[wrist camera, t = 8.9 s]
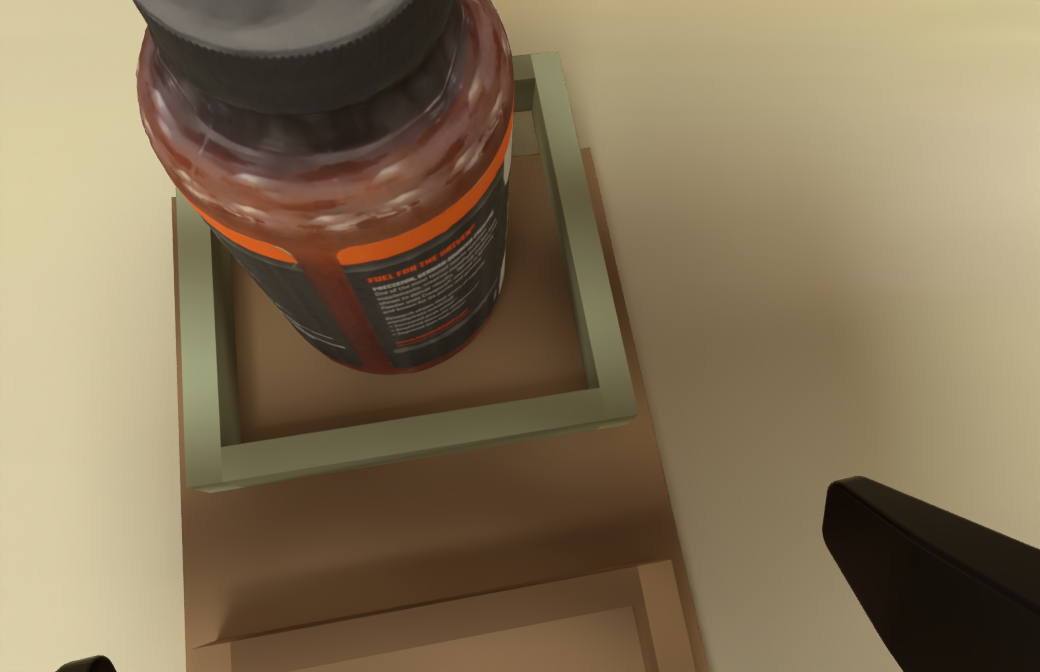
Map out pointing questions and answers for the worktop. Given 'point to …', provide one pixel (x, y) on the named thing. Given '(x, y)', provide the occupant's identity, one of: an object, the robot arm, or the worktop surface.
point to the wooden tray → (433, 464)
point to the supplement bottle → (344, 160)
